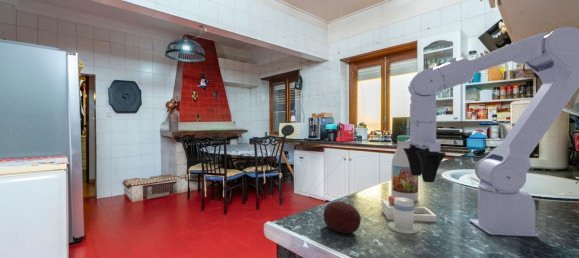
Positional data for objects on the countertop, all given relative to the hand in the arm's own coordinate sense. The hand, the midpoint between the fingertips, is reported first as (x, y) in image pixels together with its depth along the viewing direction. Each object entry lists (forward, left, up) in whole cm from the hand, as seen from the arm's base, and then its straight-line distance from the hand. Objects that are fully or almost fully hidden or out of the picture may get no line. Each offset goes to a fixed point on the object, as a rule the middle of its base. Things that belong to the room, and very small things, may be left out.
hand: (422, 178), depth 63 cm
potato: (+20, +8, -11) cm, 24 cm away
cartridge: (+6, +5, -10) cm, 13 cm away
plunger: (+5, -3, -9) cm, 11 cm away
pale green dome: (+6, +5, -10) cm, 13 cm away
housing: (+2, -3, -10) cm, 11 cm away
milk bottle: (-2, -19, -11) cm, 22 cm away
